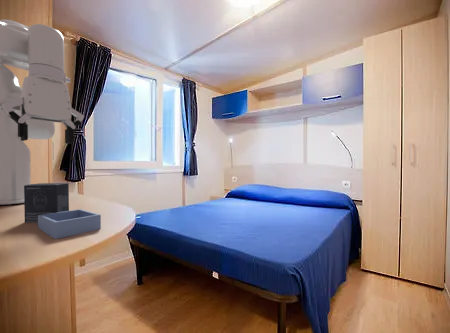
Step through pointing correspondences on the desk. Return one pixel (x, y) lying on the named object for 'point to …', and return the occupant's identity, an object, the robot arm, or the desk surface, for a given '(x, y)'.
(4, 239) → the desk surface
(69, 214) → the tray
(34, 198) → the box
